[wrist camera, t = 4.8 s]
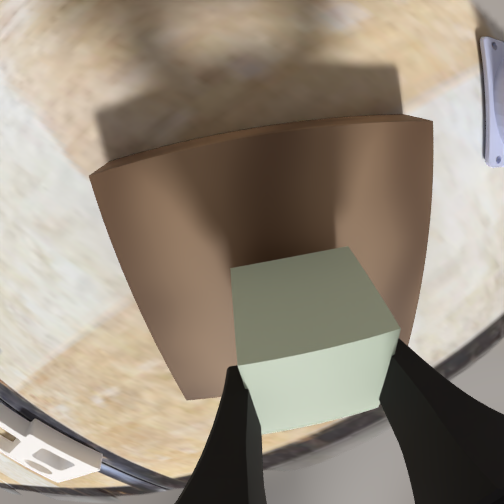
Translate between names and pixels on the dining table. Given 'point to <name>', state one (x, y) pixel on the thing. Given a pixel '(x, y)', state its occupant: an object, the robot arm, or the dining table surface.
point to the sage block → (311, 338)
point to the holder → (46, 448)
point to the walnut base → (264, 223)
